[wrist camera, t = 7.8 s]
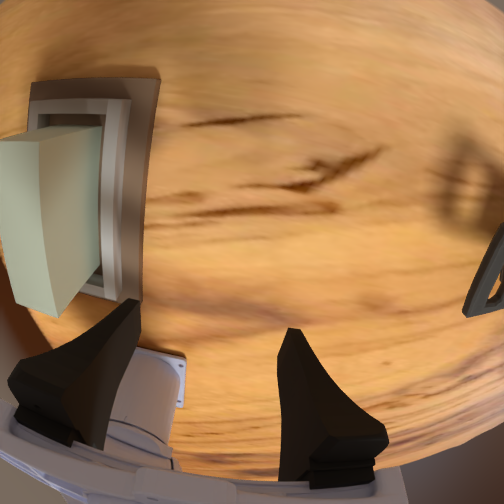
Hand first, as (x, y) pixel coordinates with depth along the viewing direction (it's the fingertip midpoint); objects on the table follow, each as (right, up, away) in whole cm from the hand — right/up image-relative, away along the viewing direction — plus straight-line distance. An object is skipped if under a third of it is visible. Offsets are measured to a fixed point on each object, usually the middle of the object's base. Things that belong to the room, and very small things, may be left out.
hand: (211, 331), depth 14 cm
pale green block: (-11, +8, +6) cm, 15 cm away
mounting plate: (-11, +8, +6) cm, 15 cm away
